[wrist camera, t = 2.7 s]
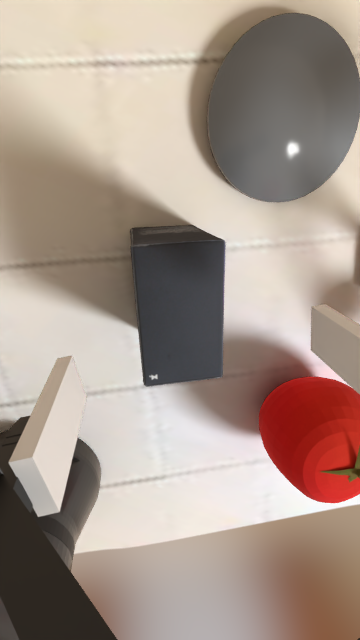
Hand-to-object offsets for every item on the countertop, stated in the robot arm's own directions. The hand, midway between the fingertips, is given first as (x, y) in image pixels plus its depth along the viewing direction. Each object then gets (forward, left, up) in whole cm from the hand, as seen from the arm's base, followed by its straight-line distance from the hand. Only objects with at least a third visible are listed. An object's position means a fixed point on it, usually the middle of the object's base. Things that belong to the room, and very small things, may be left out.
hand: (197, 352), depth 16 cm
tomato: (+13, -19, -15) cm, 28 cm away
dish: (+12, +12, -15) cm, 22 cm away
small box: (0, 0, -15) cm, 15 cm away
